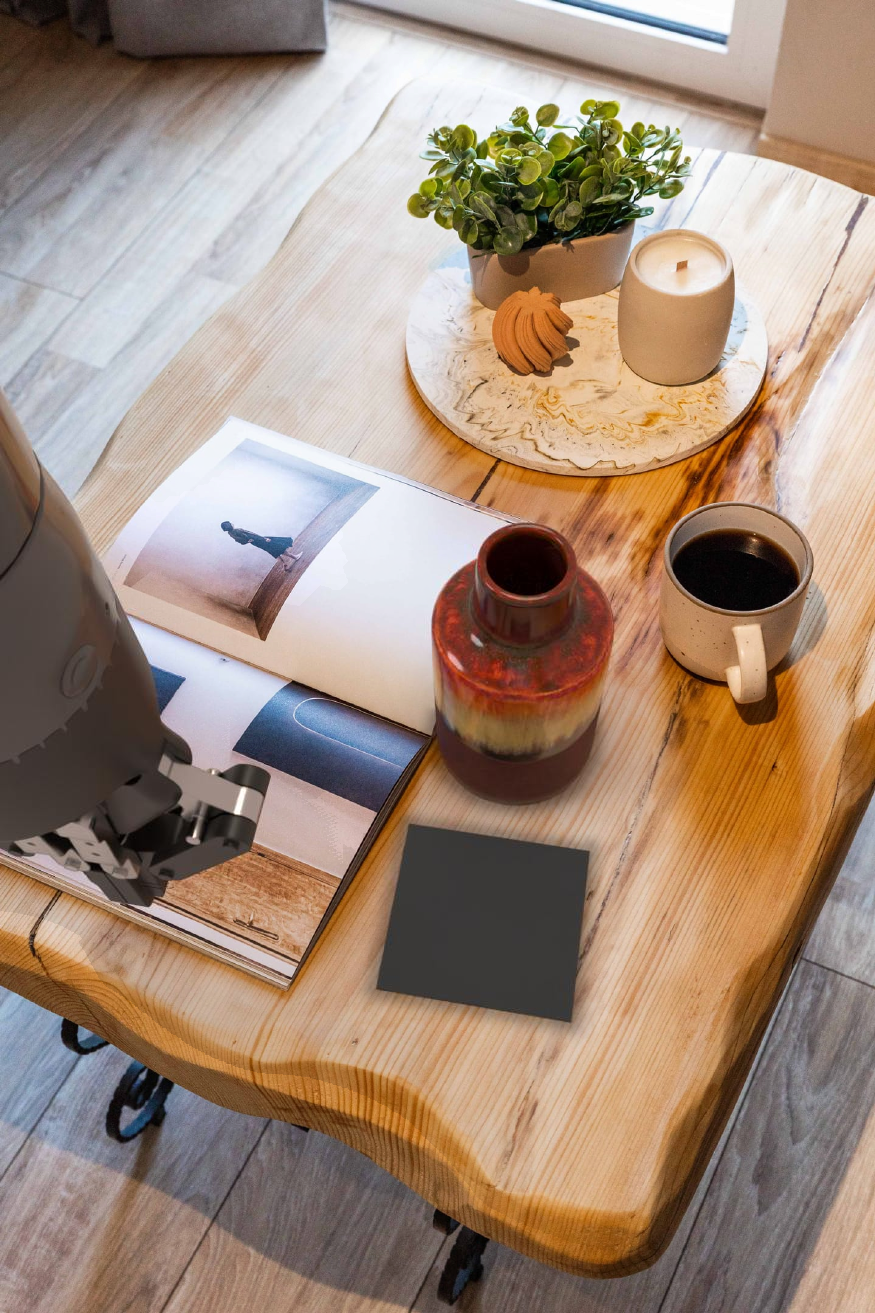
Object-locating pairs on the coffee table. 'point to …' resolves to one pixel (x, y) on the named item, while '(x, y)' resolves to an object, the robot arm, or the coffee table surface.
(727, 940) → the coffee table surface
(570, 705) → the vase
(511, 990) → the coaster
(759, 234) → the coffee table surface
